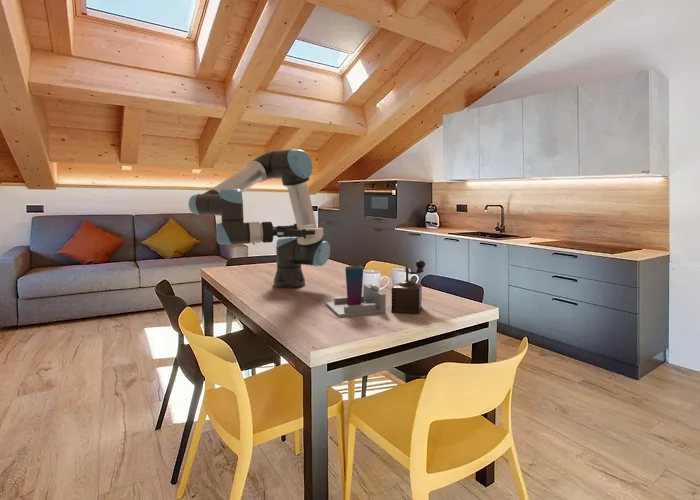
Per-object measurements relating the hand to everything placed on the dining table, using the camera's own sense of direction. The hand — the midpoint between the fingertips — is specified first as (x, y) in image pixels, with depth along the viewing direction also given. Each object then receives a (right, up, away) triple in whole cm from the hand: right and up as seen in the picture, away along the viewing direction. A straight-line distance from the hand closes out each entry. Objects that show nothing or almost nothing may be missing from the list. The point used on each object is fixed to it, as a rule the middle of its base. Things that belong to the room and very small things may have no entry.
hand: (318, 229), depth 158 cm
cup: (+14, -29, +3) cm, 32 cm away
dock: (+14, -30, +3) cm, 33 cm away
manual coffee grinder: (+34, -30, +4) cm, 46 cm away
